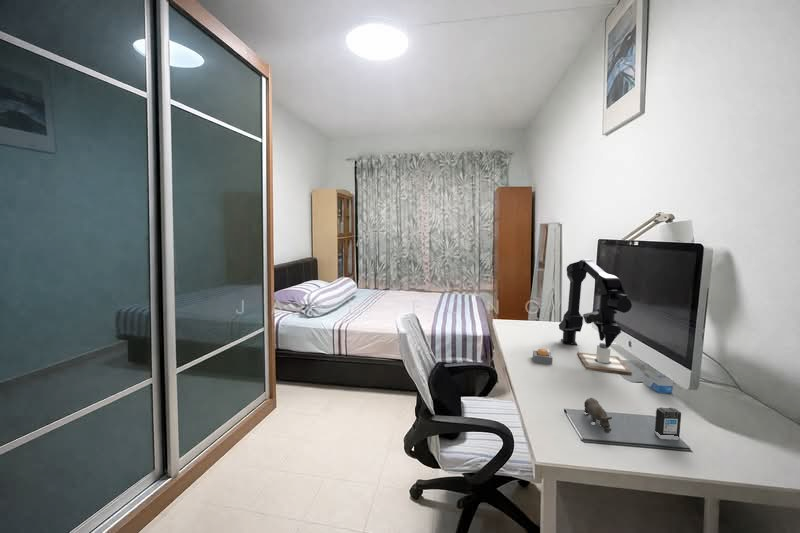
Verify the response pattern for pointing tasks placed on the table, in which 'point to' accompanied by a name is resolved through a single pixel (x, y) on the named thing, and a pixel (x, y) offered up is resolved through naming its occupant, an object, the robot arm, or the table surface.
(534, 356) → the button housing
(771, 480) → the table surface
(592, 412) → the grey animal figure
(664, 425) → the ink cartridge
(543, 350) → the button
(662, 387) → the ink box
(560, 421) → the table surface
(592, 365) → the wooden picture frame
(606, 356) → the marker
